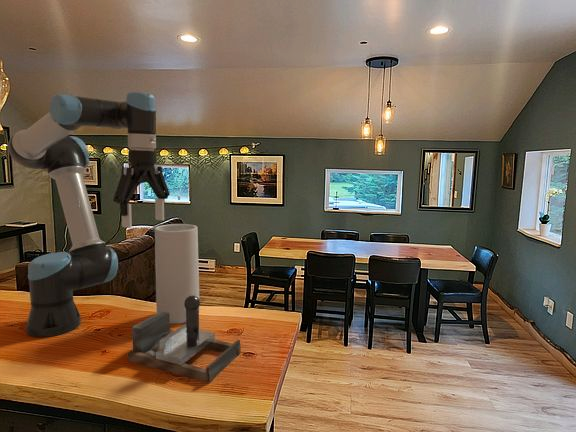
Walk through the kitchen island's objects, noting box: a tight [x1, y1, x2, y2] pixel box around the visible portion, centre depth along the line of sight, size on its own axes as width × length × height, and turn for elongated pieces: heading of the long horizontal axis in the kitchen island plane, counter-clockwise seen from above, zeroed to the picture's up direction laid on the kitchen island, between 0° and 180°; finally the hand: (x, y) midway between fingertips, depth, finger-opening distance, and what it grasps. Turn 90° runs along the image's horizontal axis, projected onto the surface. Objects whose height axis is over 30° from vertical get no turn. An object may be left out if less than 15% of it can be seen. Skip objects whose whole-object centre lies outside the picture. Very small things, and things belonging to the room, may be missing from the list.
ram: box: [156, 296, 216, 365], centre depth 108 cm, size 8×16×18 cm, turn 159°
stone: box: [145, 333, 170, 356], centre depth 111 cm, size 10×5×8 cm
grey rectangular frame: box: [127, 311, 242, 384], centre depth 109 cm, size 26×16×9 cm, turn 68°
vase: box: [154, 223, 200, 325], centre depth 134 cm, size 14×14×32 cm
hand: (144, 223), depth 115 cm, fingers open, 13 cm apart
